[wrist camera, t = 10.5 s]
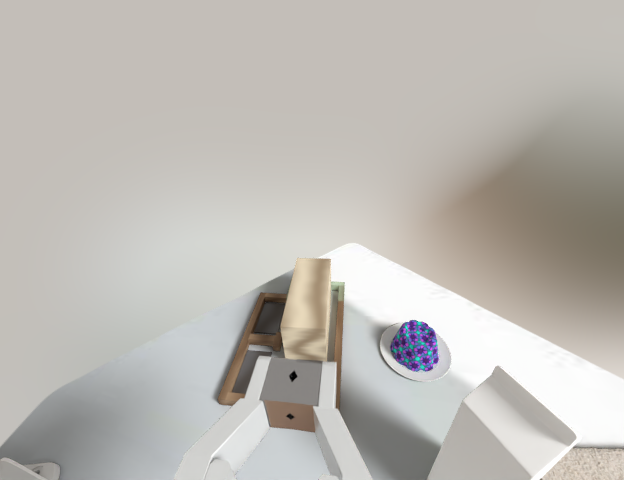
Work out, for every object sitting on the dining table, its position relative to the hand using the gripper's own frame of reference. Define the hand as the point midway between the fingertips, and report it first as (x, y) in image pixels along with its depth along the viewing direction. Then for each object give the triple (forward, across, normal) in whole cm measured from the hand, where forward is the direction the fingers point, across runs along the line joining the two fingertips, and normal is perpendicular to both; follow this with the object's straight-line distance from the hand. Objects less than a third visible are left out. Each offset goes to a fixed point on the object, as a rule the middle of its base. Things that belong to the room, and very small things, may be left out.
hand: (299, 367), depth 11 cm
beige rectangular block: (+31, +5, +34) cm, 46 cm away
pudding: (+27, -14, +34) cm, 46 cm away
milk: (+7, -16, +34) cm, 38 cm away
